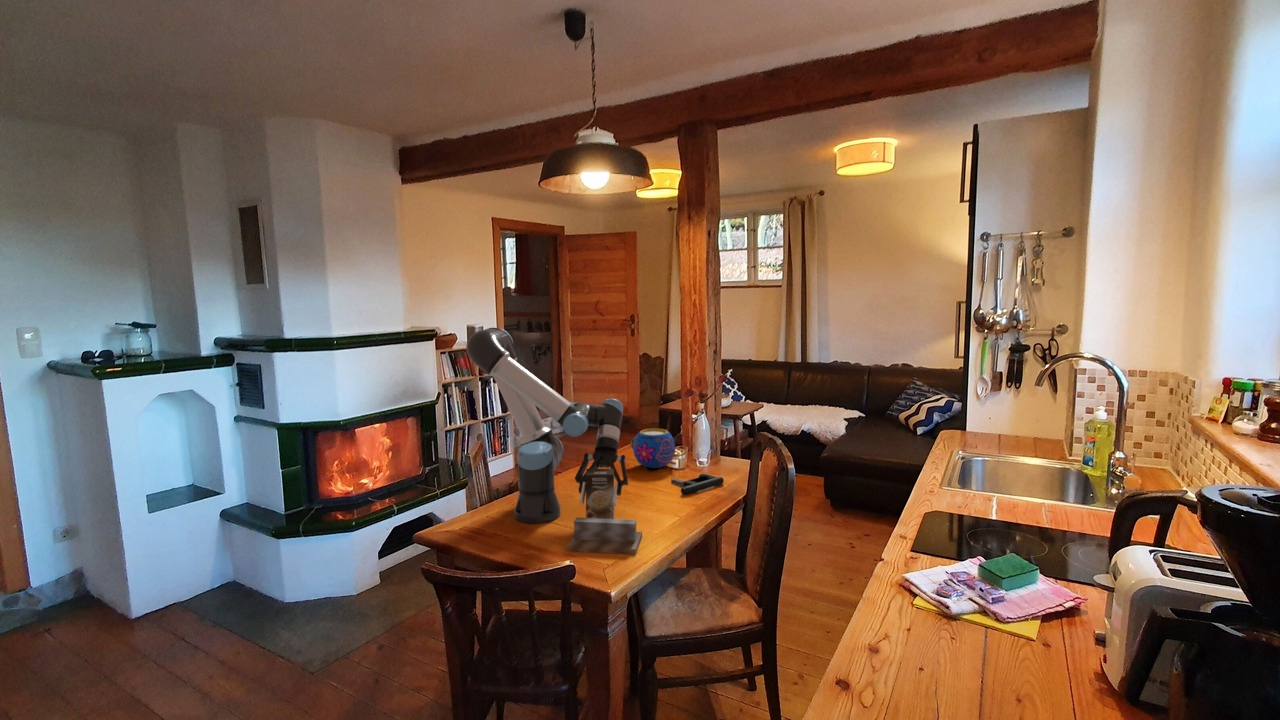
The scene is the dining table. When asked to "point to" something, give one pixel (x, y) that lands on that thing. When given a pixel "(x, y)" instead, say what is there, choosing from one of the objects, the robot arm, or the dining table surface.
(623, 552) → the ridge stand
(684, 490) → the door handle
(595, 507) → the coffee box
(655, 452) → the ceramic pot
